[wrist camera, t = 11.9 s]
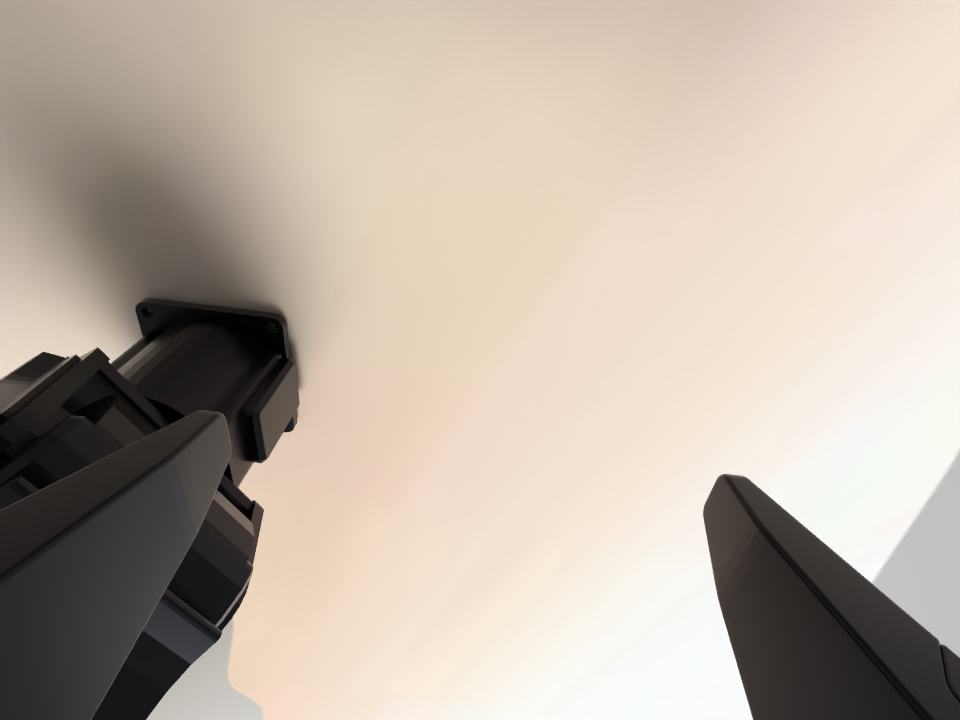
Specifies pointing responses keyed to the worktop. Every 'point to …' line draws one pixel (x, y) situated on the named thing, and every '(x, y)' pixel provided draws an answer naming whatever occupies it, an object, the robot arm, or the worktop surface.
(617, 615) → the worktop surface
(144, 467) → the robot arm
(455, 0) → the worktop surface
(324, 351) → the worktop surface
